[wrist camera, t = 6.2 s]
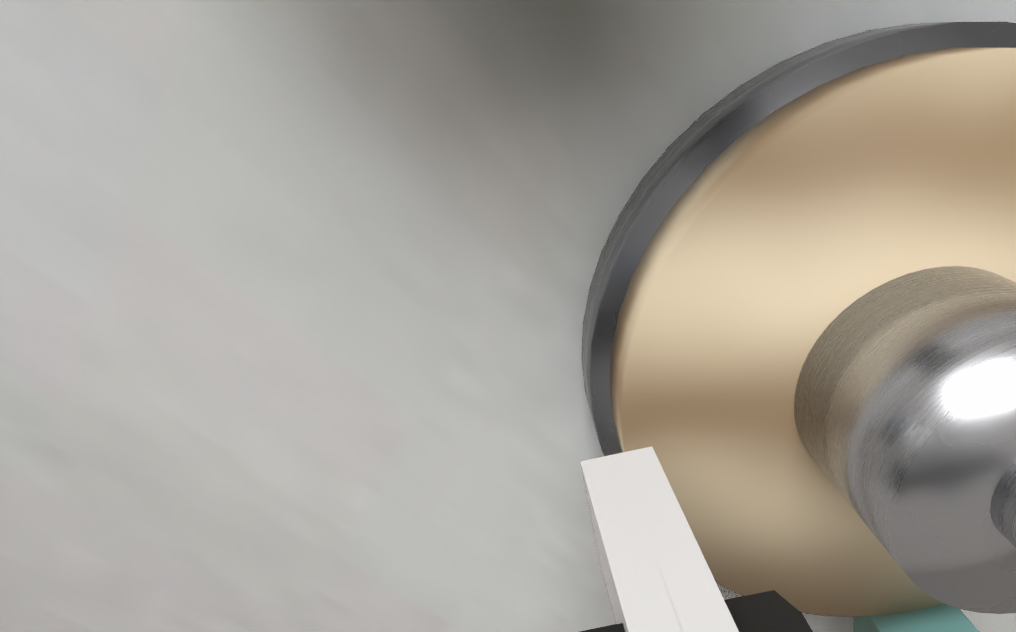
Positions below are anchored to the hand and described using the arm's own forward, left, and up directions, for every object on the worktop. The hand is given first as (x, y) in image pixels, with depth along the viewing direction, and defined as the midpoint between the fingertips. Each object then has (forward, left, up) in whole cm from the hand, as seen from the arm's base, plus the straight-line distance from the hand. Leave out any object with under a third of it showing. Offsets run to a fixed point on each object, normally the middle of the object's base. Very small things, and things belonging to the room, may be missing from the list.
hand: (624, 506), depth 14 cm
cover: (+8, 0, -2) cm, 8 cm away
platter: (+8, -2, -4) cm, 9 cm away
